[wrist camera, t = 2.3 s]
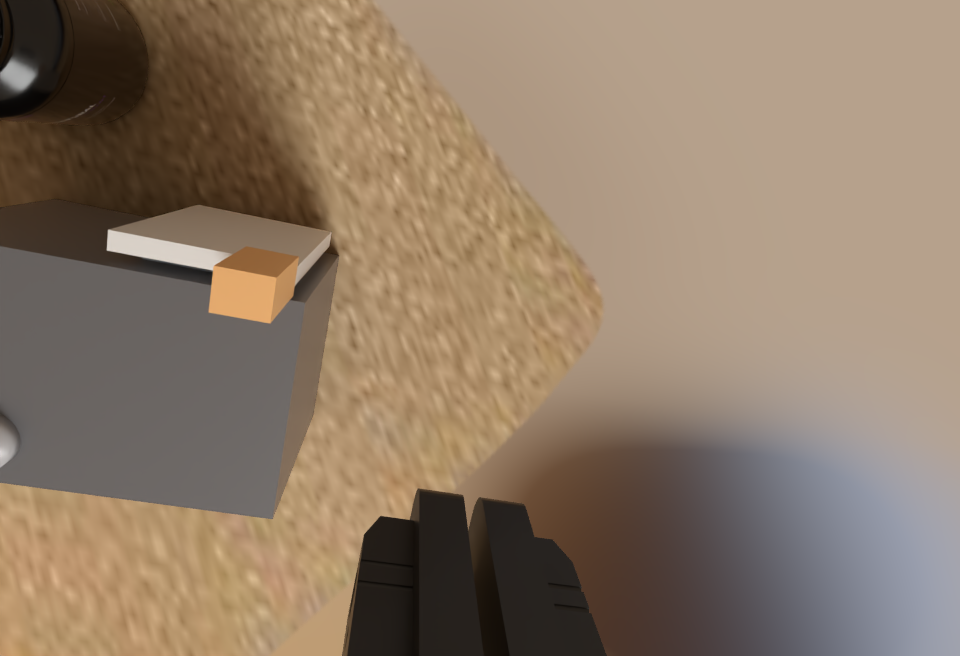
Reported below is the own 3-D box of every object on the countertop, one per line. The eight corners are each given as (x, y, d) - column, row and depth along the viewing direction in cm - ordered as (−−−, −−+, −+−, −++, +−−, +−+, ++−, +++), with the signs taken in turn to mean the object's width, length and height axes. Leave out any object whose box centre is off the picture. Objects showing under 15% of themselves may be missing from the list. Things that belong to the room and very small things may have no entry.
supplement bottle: (106, 154, 33) (-62, 160, 21) (-18, 61, 31) (-274, 14, 20) (181, 48, 32) (47, -6, 20) (57, -54, 30) (-168, -177, 18)
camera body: (23, 186, 33) (-185, 209, 22) (340, 250, 35) (302, 300, 24) (18, 367, 35) (-169, 472, 24) (313, 415, 38) (268, 529, 27)
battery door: (199, 197, 33) (47, 234, 19) (333, 224, 34) (276, 277, 20) (196, 226, 33) (45, 283, 20) (328, 253, 34) (270, 323, 21)
